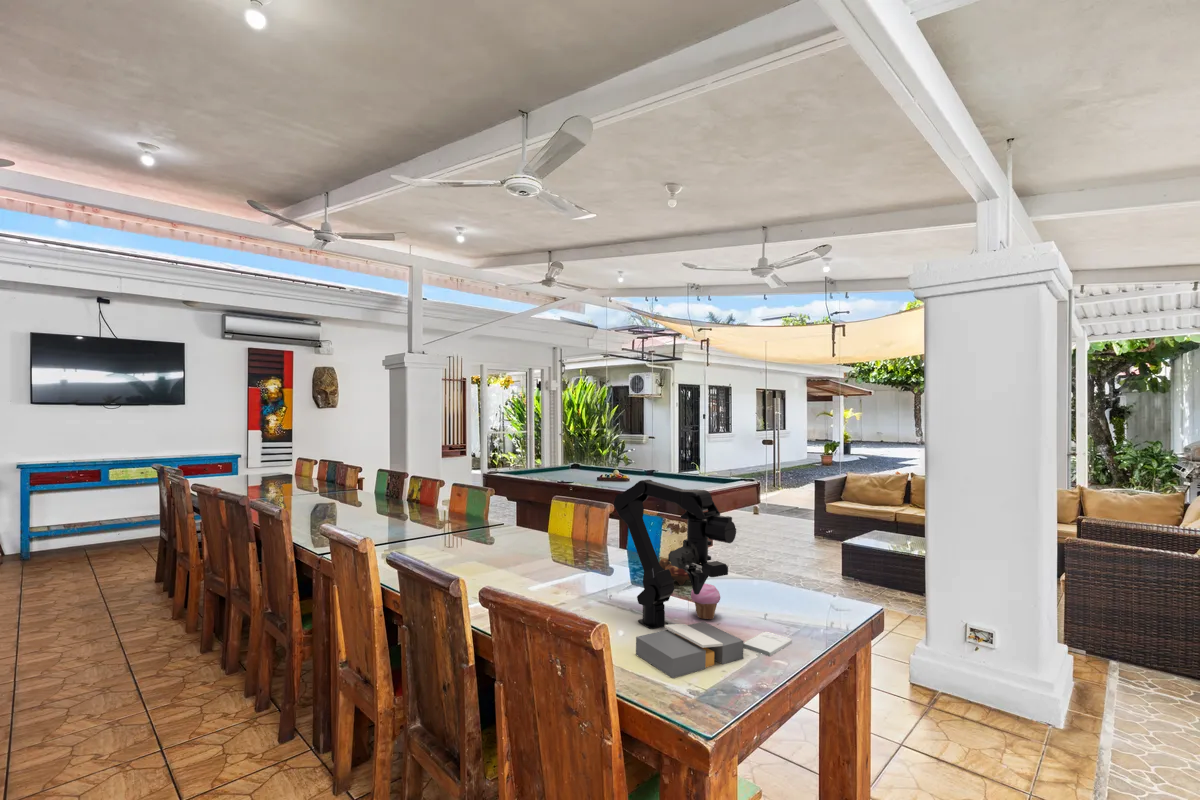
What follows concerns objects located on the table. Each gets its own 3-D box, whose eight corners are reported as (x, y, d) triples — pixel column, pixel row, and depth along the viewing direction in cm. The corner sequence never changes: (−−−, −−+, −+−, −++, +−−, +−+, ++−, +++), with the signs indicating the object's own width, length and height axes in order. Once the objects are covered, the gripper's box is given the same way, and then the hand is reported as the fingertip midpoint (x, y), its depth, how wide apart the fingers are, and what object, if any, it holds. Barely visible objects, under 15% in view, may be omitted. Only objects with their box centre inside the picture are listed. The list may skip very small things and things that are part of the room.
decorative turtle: (660, 576, 224) (662, 554, 225) (701, 584, 220) (703, 561, 220) (654, 582, 215) (656, 559, 215) (697, 590, 210) (699, 567, 211)
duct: (635, 654, 156) (636, 636, 156) (703, 637, 167) (703, 621, 167) (672, 678, 143) (672, 658, 143) (743, 658, 155) (743, 640, 154)
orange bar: (668, 634, 161) (679, 632, 163) (668, 648, 161) (679, 645, 163) (703, 654, 149) (714, 651, 150) (703, 669, 149) (714, 666, 150)
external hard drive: (741, 649, 162) (764, 636, 171) (770, 658, 156) (792, 644, 165) (741, 642, 162) (764, 630, 171) (770, 652, 156) (792, 638, 165)
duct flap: (664, 627, 160) (664, 624, 160) (683, 626, 164) (683, 623, 164) (702, 647, 147) (702, 645, 147) (722, 646, 151) (722, 643, 151)
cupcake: (721, 623, 179) (722, 589, 179) (691, 622, 179) (692, 587, 179) (717, 612, 187) (718, 580, 187) (689, 611, 188) (689, 578, 188)
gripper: (653, 533, 171) (652, 588, 171) (697, 547, 155) (696, 609, 155) (684, 529, 177) (683, 583, 177) (730, 542, 161) (728, 602, 161)
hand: (696, 594), depth 167 cm, fingers closed
